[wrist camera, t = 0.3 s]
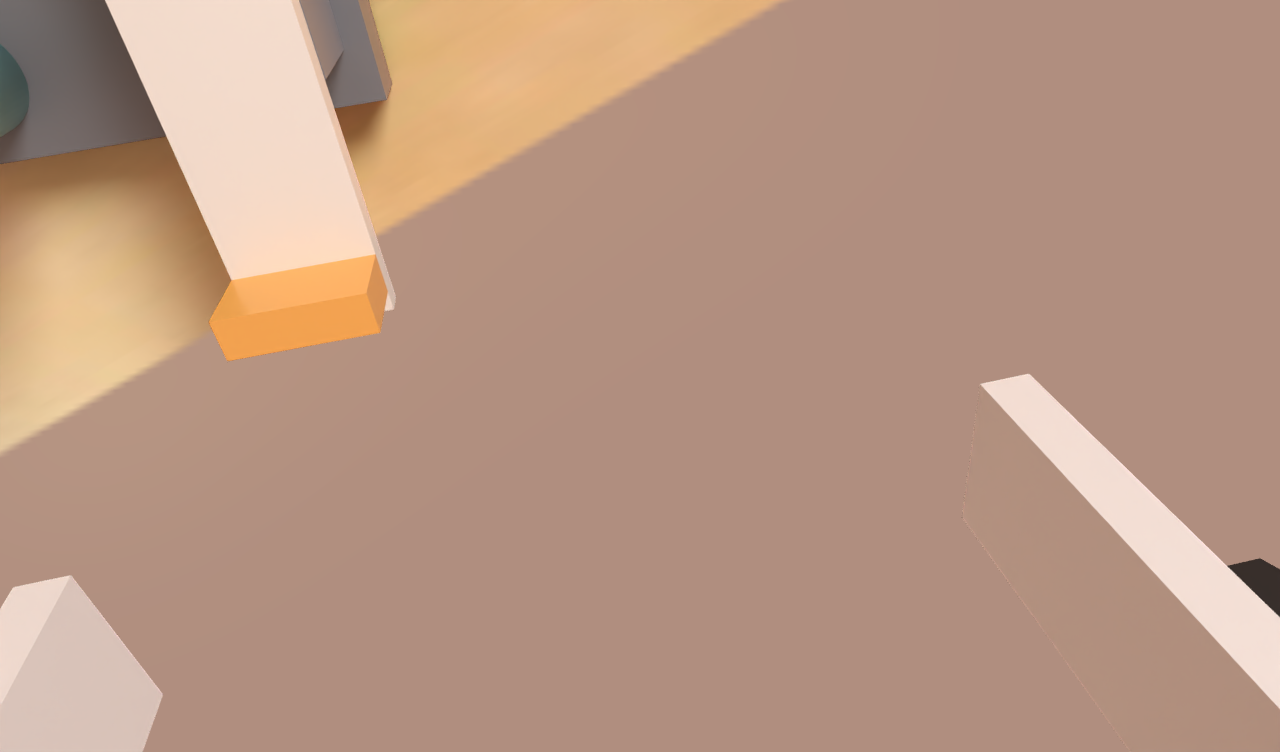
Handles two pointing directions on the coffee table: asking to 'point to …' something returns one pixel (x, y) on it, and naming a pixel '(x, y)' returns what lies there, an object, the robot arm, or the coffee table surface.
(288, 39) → the lid
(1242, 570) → the robot arm
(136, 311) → the coffee table surface
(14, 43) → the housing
